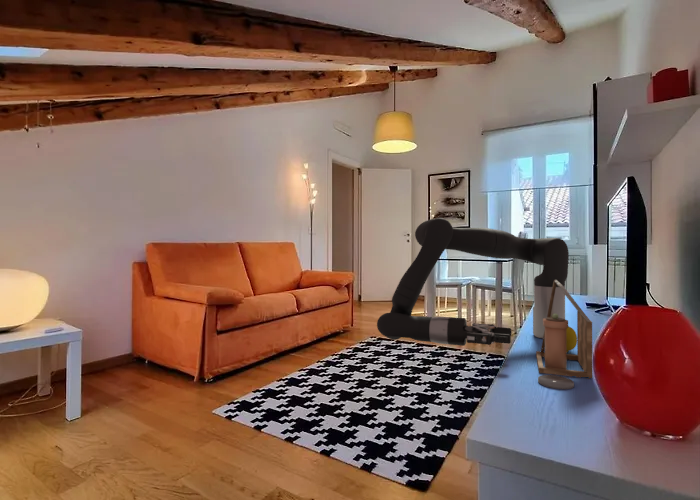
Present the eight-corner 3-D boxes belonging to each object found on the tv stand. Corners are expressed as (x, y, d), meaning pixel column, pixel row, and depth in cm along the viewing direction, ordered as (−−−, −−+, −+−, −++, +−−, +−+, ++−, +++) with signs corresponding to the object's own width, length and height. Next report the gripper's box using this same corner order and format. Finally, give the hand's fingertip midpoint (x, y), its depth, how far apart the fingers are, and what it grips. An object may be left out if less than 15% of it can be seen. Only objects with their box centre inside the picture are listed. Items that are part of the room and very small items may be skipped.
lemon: (556, 348, 113) (556, 322, 113) (578, 351, 110) (577, 324, 110) (553, 353, 109) (553, 325, 109) (576, 356, 106) (576, 327, 106)
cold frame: (536, 355, 107) (535, 279, 107) (581, 359, 102) (581, 280, 102) (539, 372, 92) (538, 284, 92) (592, 378, 88) (592, 285, 88)
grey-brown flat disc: (531, 378, 88) (531, 375, 88) (560, 377, 89) (560, 374, 89) (550, 390, 81) (550, 386, 81) (581, 388, 82) (581, 384, 82)
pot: (538, 364, 98) (538, 312, 98) (558, 363, 99) (558, 311, 99) (552, 371, 93) (551, 315, 93) (573, 370, 93) (573, 315, 93)
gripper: (443, 321, 100) (510, 326, 93) (452, 313, 113) (511, 316, 107) (443, 350, 100) (510, 357, 94) (452, 338, 113) (511, 343, 107)
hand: (511, 335), depth 100 cm, fingers open, 8 cm apart
